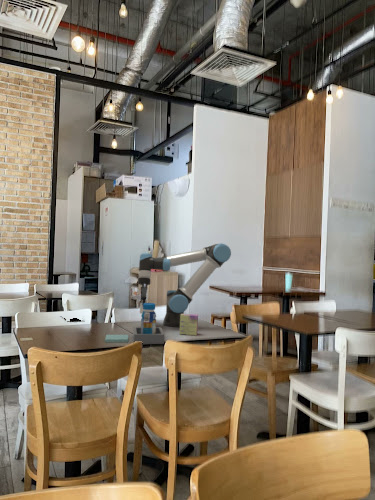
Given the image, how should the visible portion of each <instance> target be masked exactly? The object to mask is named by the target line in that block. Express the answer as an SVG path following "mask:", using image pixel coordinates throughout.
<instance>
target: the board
mask: <svg viewBox="0 0 375 500" xmlns="http://www.w3.org/2000/svg"><path fill="white" fill-rule="evenodd" d="M104 343H129V334H106V336H105V339H104Z"/></svg>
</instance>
